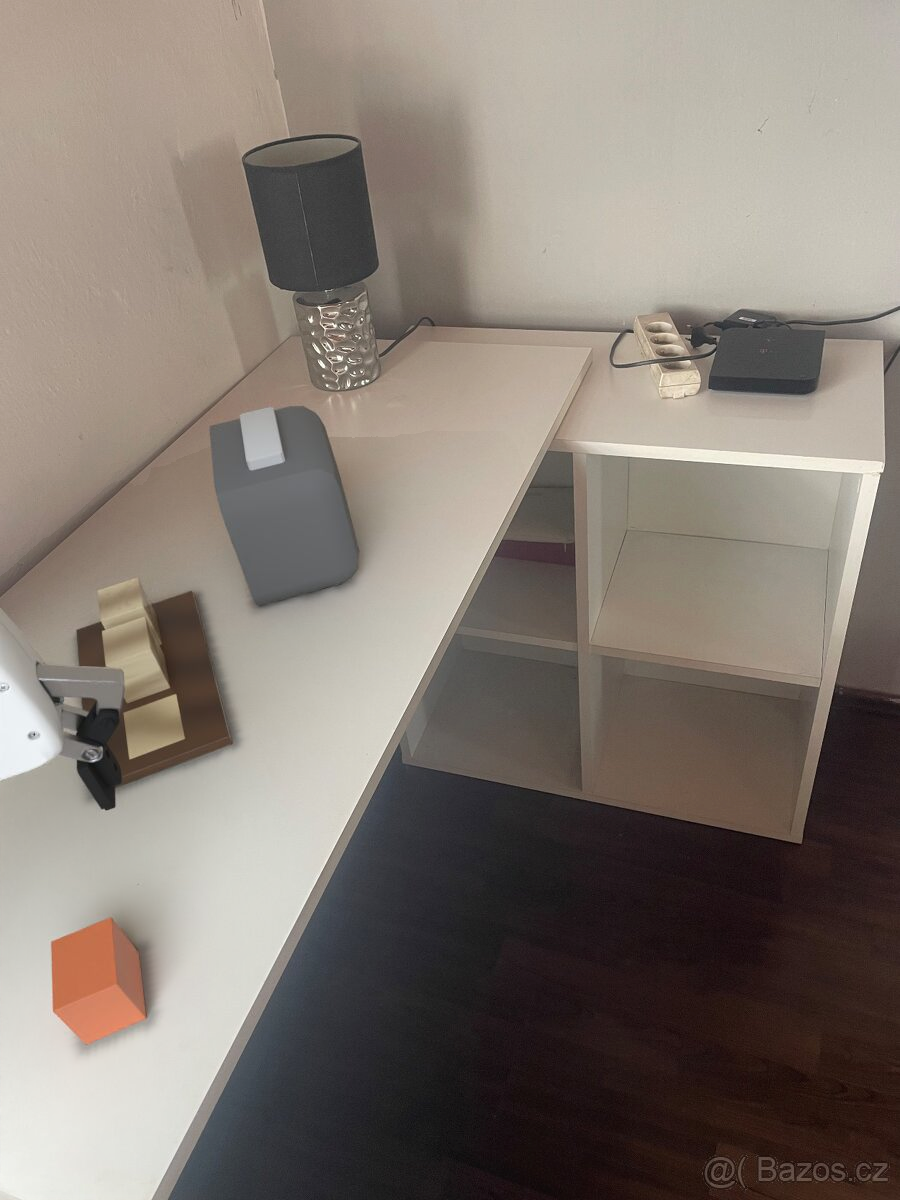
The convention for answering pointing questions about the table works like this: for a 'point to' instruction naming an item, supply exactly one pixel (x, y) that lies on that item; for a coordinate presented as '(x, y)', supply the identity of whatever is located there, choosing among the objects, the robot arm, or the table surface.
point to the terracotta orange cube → (97, 981)
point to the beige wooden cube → (126, 605)
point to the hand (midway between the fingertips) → (27, 818)
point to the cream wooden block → (136, 658)
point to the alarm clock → (283, 502)
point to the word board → (166, 696)
